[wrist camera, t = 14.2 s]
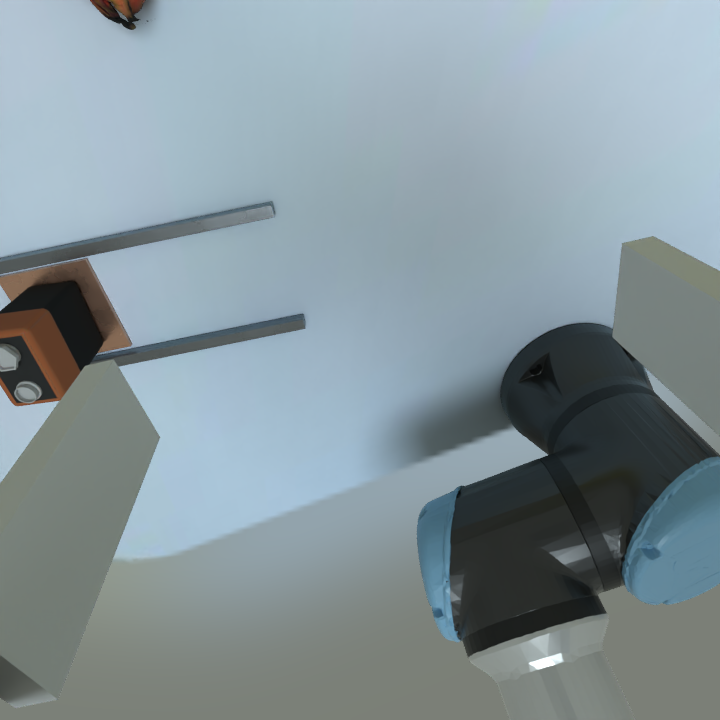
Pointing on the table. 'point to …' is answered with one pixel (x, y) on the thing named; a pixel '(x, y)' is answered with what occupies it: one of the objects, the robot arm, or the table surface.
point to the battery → (45, 342)
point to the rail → (100, 303)
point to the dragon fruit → (120, 10)
